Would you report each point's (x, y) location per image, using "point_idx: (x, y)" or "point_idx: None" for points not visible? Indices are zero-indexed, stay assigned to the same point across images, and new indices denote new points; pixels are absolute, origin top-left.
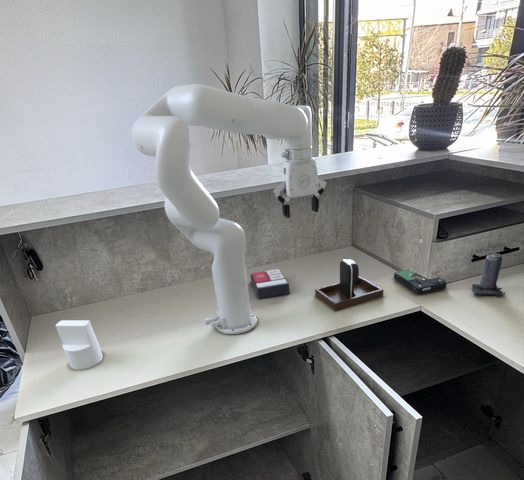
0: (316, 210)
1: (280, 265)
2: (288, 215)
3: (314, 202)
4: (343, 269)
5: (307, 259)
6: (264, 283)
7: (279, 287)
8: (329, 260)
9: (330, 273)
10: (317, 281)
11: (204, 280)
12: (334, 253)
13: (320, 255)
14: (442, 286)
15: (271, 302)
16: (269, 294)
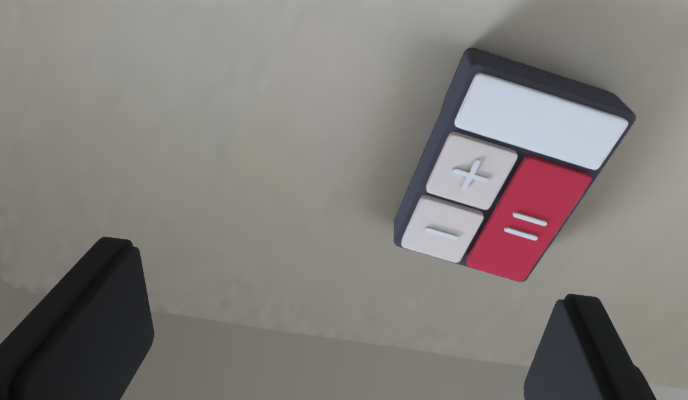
0: (118, 255)
1: (328, 312)
2: (601, 316)
3: (70, 375)
4: None
5: (208, 293)
6: (570, 143)
7: (522, 74)
8: (131, 234)
9: (185, 122)
10: (279, 85)
11: None
12: None
13: None
14: None
15: (595, 20)
16: (567, 81)
